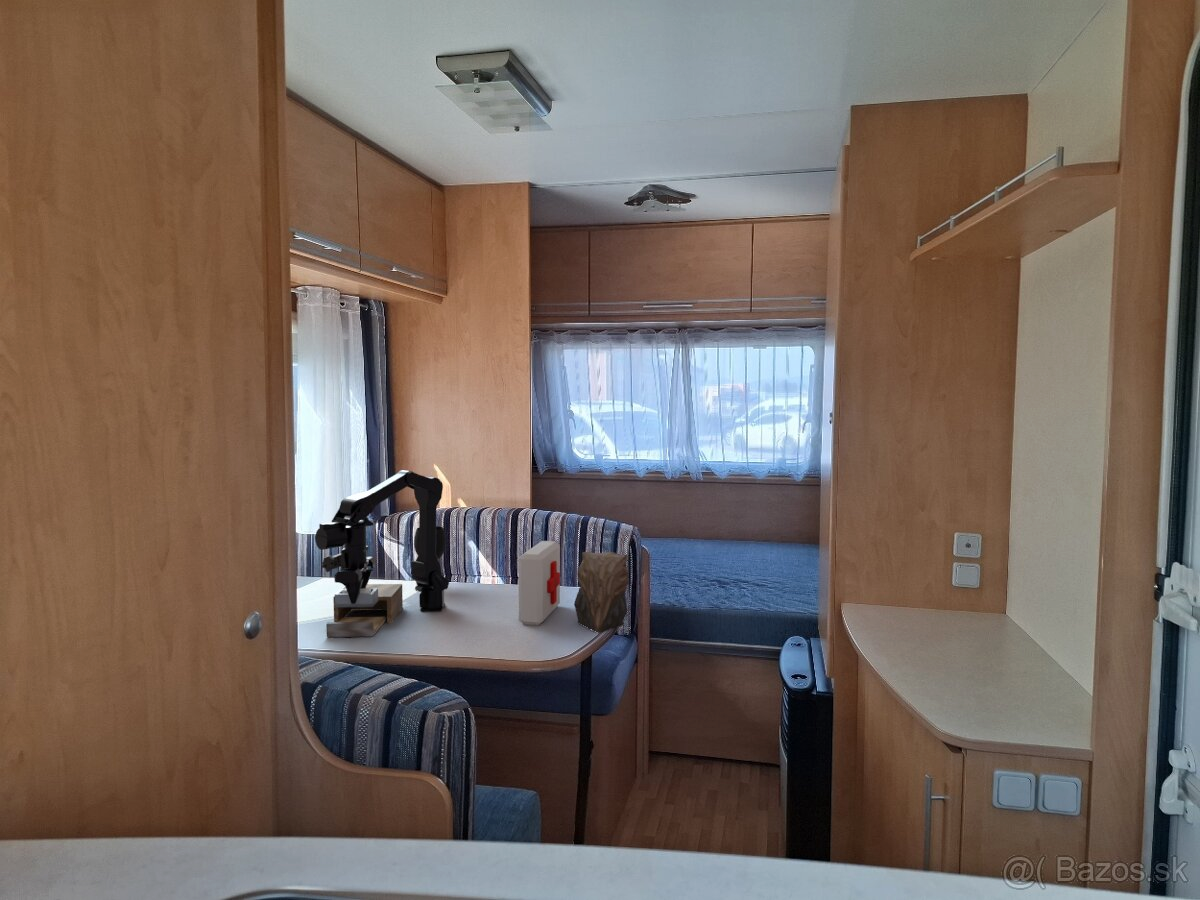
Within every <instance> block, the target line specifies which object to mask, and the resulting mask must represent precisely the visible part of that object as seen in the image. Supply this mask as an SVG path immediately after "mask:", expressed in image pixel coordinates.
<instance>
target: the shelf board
mask: <svg viewBox="0 0 1200 900" xmlns="http://www.w3.org/2000/svg"><path fill="white" fill-rule="evenodd" d="M386 621H387V616H345V617H342V618H341V619H340V620H339V621H338V622H334V621H331V622H327V623H326V625H325V627H326V629H325V631H326V637H329V638H331V637H332V638H335V637H336V638H337V637H338V638H339V637H340V638H343V637H345V638H346V637H349V638H350V637H353V638H354V637H373V636H374V635H375V634H376V633H377V632H378V631H379V629H380V628H381V627H382V625H383V624H384V623H385V622H386Z"/></svg>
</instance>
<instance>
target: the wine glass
mask: <svg viewBox="0 0 1200 900" xmlns="http://www.w3.org/2000/svg"><path fill="white" fill-rule="evenodd" d="M413 539H414V540H413V548H414V551H415V553H416V555H417V556H418V555H419V527H417V528H416V530H415V533H414V538H413ZM446 549H447V536H446V532H445V529H444V527H443V526H439V525H438V526H437V525H436V556H437V558H438V560H439V559H440V558H442V556H443V555H444V553H445V551H446ZM414 589H416V590H415V591H417V590H418V591H417V592H421V589H422V588H421V587H418V586H417V585H416V586H415V587H414Z"/></svg>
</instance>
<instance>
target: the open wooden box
mask: <svg viewBox="0 0 1200 900" xmlns="http://www.w3.org/2000/svg"><path fill="white" fill-rule="evenodd" d="M366 588H378V602H377V603H376V604H375V605H374V606H373V607H335V595H334V596H333V598H332V600H333V622H338V621H339V620H340V619H341V618H342V617H347V615H349V613H351V611H386V621H387V624H388V623H389V624H392V623H393V621H394V620H395V619H396V618H397V617H398V615H399V614H400V613H401V612H402V610H403V609H404V608H403V607H404V605H403V604H404V603H403V602H404V601H403V583H373V584H372V583H371V584H370V583H368V584H367V586H366ZM342 589H346V587H345V586H344V587H342Z"/></svg>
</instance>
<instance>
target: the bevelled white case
mask: <svg viewBox="0 0 1200 900" xmlns="http://www.w3.org/2000/svg"><path fill="white" fill-rule="evenodd" d="M559 604H561V546H560V544H559V543H558V542H557V541H552V540H541V541H540V542H539V543H537V544H535V545H534V546H533V547H531V548H530V549H528V550H527V551H526V552H524V553H523V554H522V555H520V556H519V557H518V621H519V622H521V623H522V624H523V625H524V624H527V625H526V626H540V625H541V624H542V623H543V622H544V620H546V619H547V618H548V617H549V616H550V614H551V613H552V612H553V611H554V610H555V609H556V608H557V607H558V606H559Z"/></svg>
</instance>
